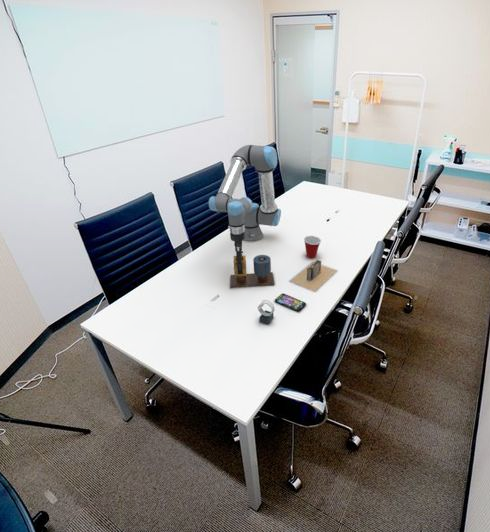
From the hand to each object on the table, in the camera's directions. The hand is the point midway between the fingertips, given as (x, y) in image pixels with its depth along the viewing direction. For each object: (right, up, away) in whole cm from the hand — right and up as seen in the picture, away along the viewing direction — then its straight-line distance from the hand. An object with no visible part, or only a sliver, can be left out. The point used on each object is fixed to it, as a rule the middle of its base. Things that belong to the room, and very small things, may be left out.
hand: (240, 268), depth 182 cm
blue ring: (+12, -1, +3) cm, 12 cm away
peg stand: (+6, -7, +5) cm, 10 cm away
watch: (+16, -24, -22) cm, 37 cm away
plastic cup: (+41, +8, +29) cm, 51 cm away
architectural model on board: (+41, -4, +10) cm, 42 cm away
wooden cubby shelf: (0, -2, +1) cm, 2 cm away
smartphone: (+27, -18, -12) cm, 34 cm away
